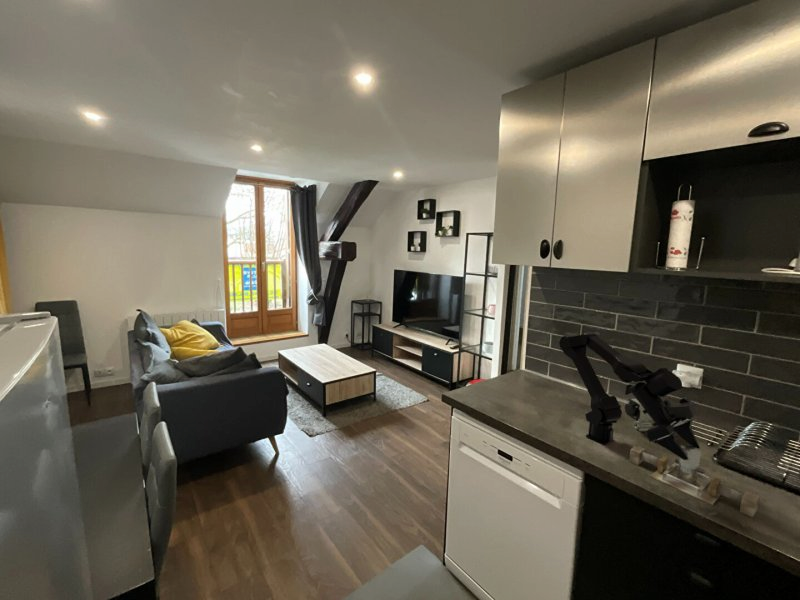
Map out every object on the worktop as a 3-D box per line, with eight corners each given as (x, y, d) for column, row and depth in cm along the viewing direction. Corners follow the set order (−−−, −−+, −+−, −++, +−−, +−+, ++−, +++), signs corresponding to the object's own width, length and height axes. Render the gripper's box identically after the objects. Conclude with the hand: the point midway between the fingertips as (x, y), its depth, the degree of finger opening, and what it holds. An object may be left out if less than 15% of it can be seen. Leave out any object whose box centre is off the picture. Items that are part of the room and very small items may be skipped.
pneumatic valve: (622, 426, 132) (625, 396, 130) (652, 425, 133) (655, 395, 131) (632, 434, 127) (636, 402, 125) (663, 433, 128) (668, 401, 126)
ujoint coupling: (670, 479, 102) (674, 446, 100) (676, 473, 104) (680, 442, 103) (699, 492, 96) (704, 458, 95) (705, 486, 99) (709, 452, 98)
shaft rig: (624, 464, 109) (626, 451, 109) (639, 453, 115) (640, 441, 114) (749, 522, 87) (752, 506, 86) (759, 505, 92) (762, 490, 91)
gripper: (663, 398, 95) (710, 456, 88) (689, 383, 106) (732, 433, 99) (628, 414, 103) (668, 468, 96) (655, 398, 114) (693, 446, 106)
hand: (692, 453), depth 99 cm, fingers open, 9 cm apart
